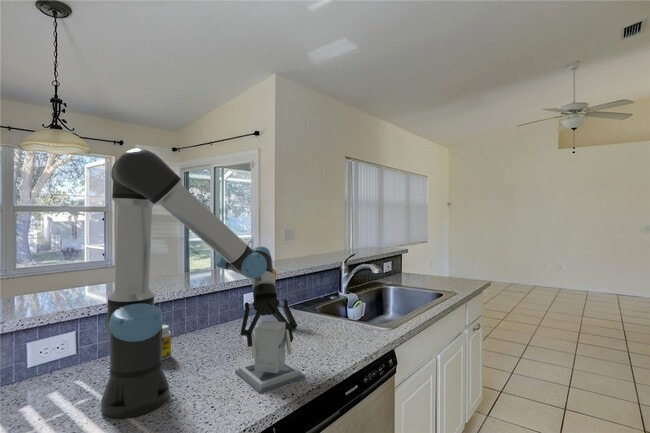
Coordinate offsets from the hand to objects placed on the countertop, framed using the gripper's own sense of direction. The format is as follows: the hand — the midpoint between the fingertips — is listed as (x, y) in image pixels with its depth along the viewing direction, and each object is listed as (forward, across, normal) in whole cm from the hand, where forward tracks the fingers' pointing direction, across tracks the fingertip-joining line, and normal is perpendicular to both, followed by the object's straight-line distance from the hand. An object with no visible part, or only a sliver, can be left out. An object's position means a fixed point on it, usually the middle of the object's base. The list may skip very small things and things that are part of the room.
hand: (272, 354), depth 101 cm
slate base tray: (+3, 0, -7) cm, 8 cm away
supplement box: (+1, 0, -6) cm, 6 cm away
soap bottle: (-31, -8, -42) cm, 53 cm away
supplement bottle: (-13, +32, -23) cm, 41 cm away
